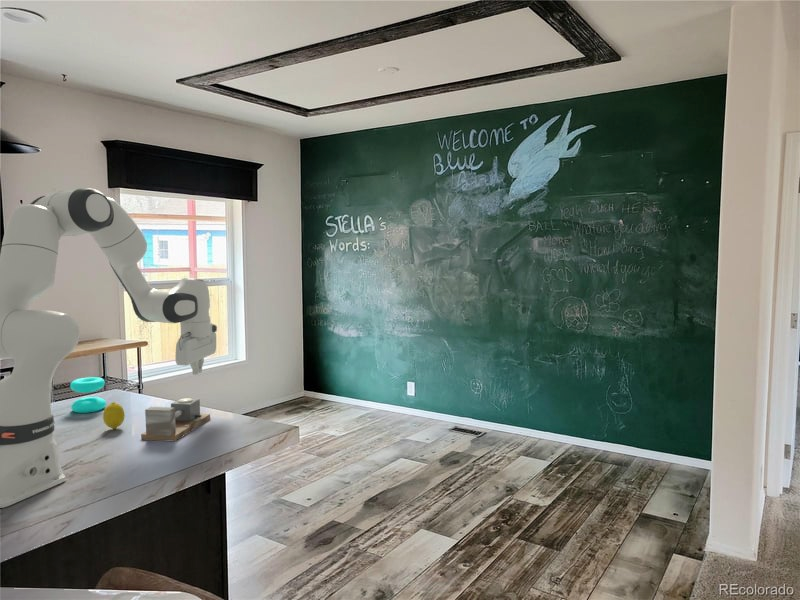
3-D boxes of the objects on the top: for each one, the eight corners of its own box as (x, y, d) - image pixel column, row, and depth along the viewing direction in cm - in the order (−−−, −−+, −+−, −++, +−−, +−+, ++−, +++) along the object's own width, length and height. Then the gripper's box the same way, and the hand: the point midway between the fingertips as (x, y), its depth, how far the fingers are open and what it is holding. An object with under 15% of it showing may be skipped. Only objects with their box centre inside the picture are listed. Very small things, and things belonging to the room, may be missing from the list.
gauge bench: (175, 441, 159) (174, 410, 158) (141, 439, 160) (140, 409, 160) (210, 418, 180) (209, 391, 179) (179, 417, 181) (178, 390, 180)
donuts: (73, 384, 182) (67, 379, 190) (75, 415, 183) (68, 409, 191) (108, 380, 189) (100, 374, 196) (109, 410, 189) (102, 403, 197)
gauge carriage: (191, 423, 169) (191, 405, 168) (166, 422, 170) (166, 404, 169) (205, 415, 177) (205, 398, 177) (181, 414, 178) (181, 397, 178)
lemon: (128, 426, 172) (127, 400, 171) (118, 432, 167) (116, 405, 166) (111, 426, 173) (109, 399, 172) (99, 432, 167) (98, 404, 166)
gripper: (189, 335, 170) (191, 381, 172) (219, 325, 190) (220, 366, 192) (168, 335, 171) (170, 381, 172) (201, 324, 191) (202, 366, 192)
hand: (197, 373), depth 182 cm, fingers closed
